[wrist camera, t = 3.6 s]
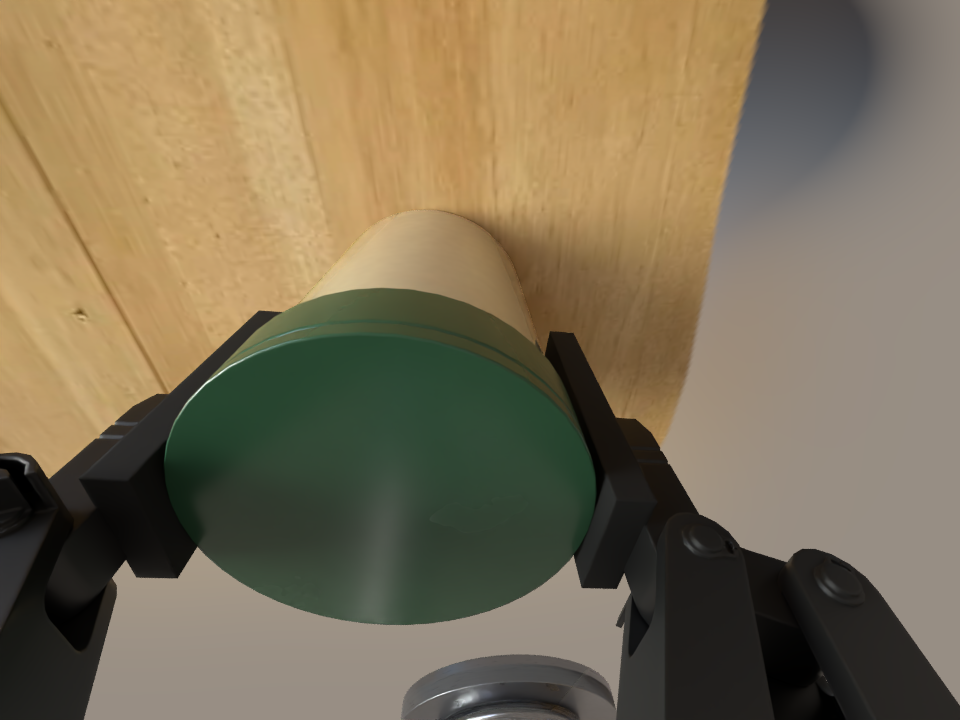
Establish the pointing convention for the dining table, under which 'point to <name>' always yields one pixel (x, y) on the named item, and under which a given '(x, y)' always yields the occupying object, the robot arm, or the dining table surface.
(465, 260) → the jam jar
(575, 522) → the jar lid
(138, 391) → the dining table surface
